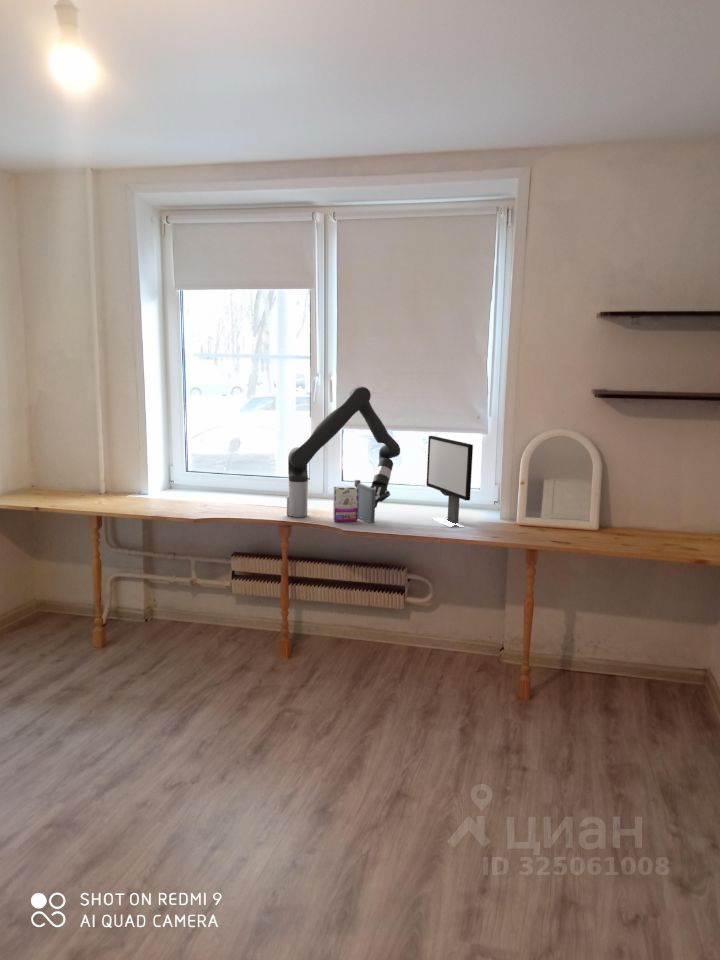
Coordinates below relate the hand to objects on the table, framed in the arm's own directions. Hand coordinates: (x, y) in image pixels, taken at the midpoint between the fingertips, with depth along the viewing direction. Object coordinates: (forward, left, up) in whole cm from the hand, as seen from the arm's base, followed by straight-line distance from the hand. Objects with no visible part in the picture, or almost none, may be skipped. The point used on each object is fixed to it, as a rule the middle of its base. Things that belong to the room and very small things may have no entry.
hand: (372, 507), depth 328 cm
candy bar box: (-13, -2, -8) cm, 16 cm away
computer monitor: (+32, +18, -8) cm, 37 cm away
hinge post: (-12, +10, -7) cm, 17 cm away
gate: (-5, +2, -7) cm, 8 cm away
